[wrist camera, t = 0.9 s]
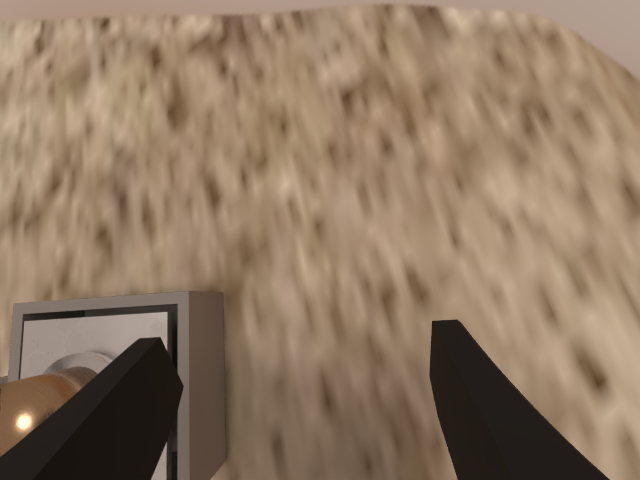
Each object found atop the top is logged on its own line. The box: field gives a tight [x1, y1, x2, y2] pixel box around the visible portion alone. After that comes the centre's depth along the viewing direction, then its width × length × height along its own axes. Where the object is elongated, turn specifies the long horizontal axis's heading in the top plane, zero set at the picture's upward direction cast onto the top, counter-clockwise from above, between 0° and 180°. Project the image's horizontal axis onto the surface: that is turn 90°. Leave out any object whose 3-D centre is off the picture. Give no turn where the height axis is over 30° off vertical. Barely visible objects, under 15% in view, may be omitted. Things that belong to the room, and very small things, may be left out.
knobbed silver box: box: [0, 291, 226, 480], centre depth 21 cm, size 10×12×5 cm
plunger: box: [0, 312, 172, 480], centre depth 16 cm, size 8×8×5 cm
